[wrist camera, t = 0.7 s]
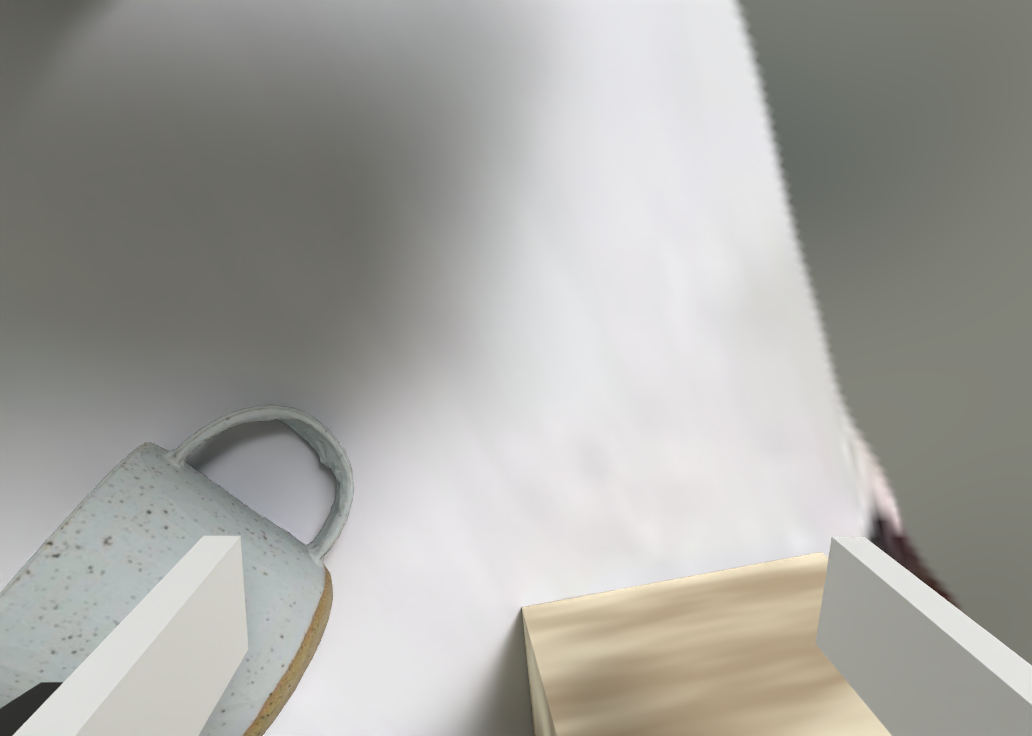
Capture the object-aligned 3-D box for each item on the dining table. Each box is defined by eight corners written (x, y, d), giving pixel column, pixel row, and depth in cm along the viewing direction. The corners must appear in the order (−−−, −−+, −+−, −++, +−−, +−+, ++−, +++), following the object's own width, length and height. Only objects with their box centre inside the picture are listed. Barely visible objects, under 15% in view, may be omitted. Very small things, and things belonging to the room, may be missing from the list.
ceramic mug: (246, 667, 24) (169, 869, 16) (49, 565, 21) (-144, 746, 14) (410, 470, 23) (409, 589, 15) (224, 342, 20) (117, 409, 13)
